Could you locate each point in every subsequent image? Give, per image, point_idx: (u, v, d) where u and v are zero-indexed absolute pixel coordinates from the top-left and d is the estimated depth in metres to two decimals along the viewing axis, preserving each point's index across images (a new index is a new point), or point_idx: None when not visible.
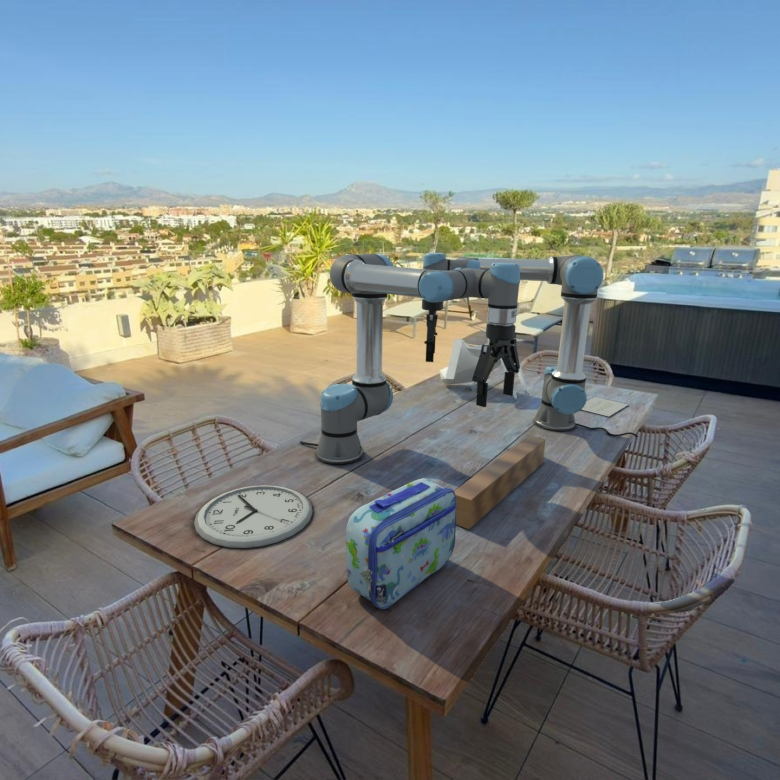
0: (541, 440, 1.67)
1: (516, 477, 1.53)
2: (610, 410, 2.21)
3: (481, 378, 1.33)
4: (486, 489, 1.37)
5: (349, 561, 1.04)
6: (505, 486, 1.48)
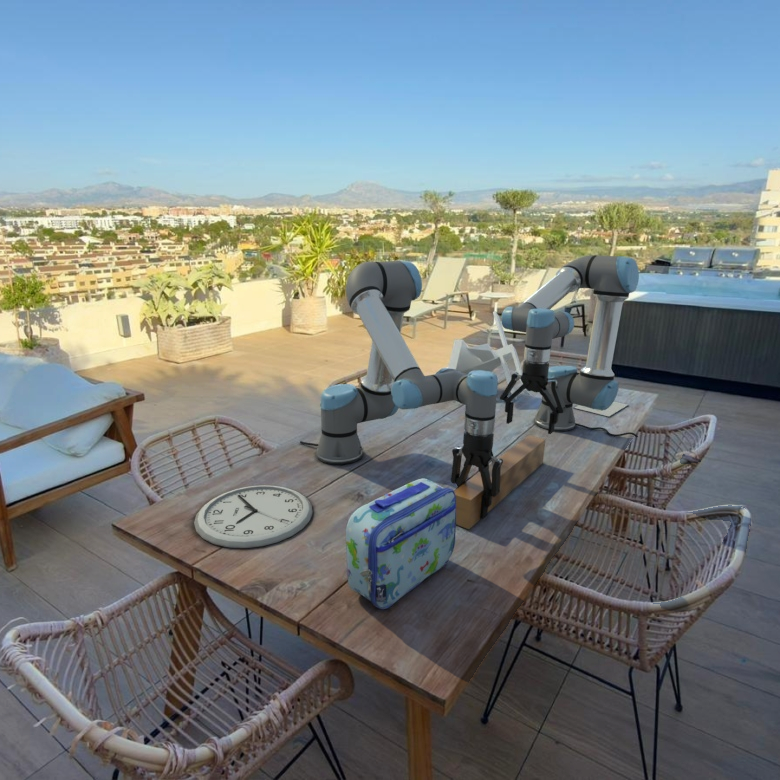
0: (541, 440, 1.67)
1: (516, 477, 1.53)
2: (610, 410, 2.21)
3: (452, 479, 1.40)
4: None
5: (349, 561, 1.04)
6: (505, 486, 1.48)
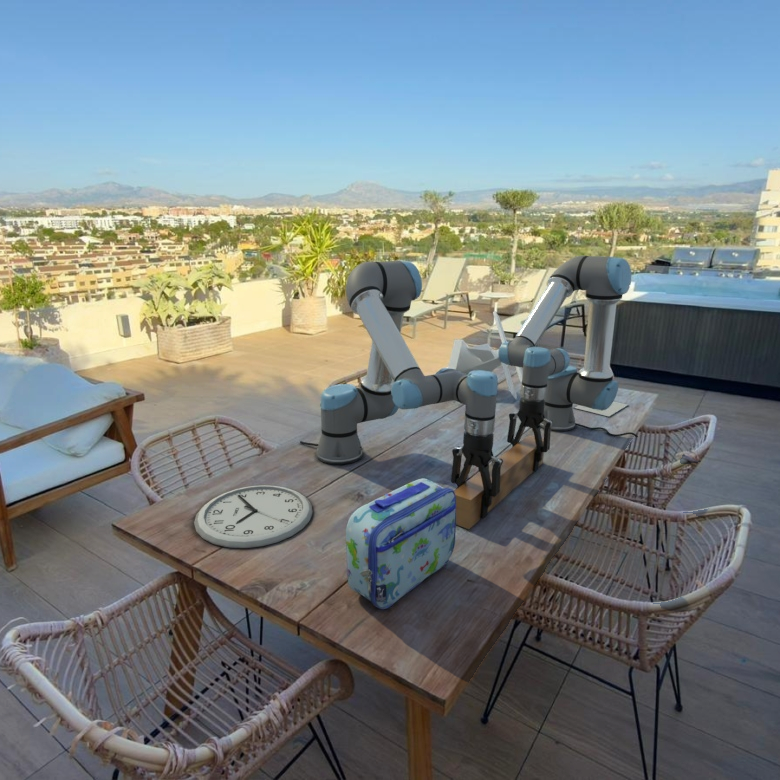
0: None
1: (516, 477, 1.53)
2: (610, 410, 2.21)
3: (452, 479, 1.40)
4: None
5: (349, 561, 1.04)
6: (505, 486, 1.48)
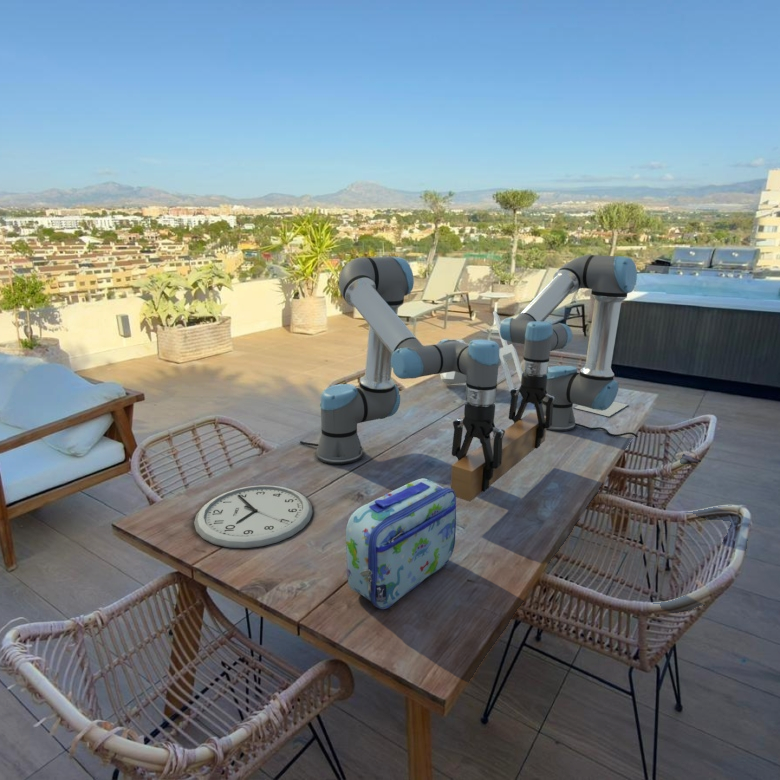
0: None
1: (518, 452, 1.51)
2: (610, 410, 2.21)
3: (453, 452, 1.37)
4: None
5: (349, 561, 1.04)
6: (507, 460, 1.45)
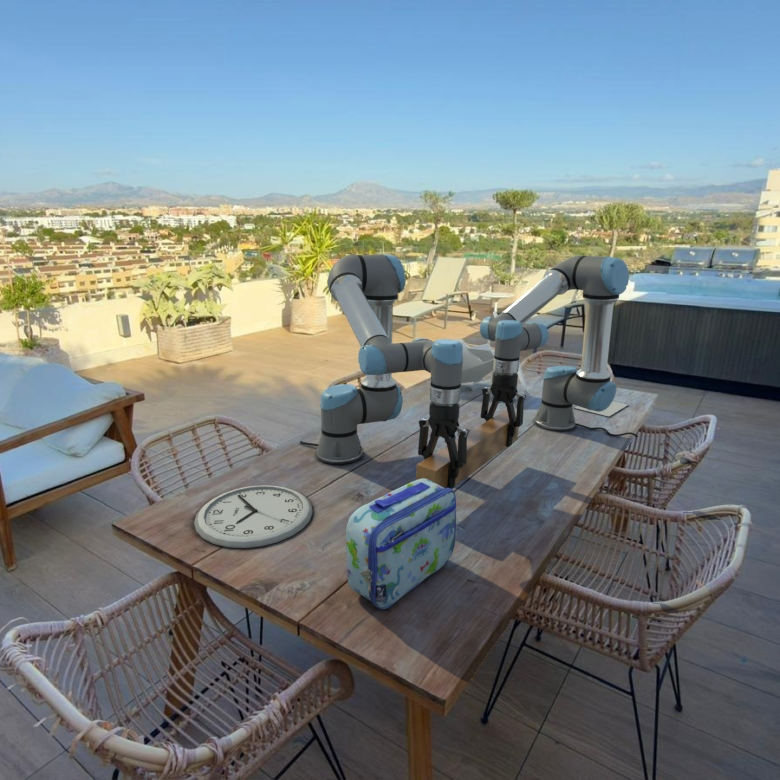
0: None
1: (487, 451, 1.51)
2: (610, 410, 2.21)
3: (419, 451, 1.38)
4: None
5: (349, 561, 1.04)
6: (475, 459, 1.46)
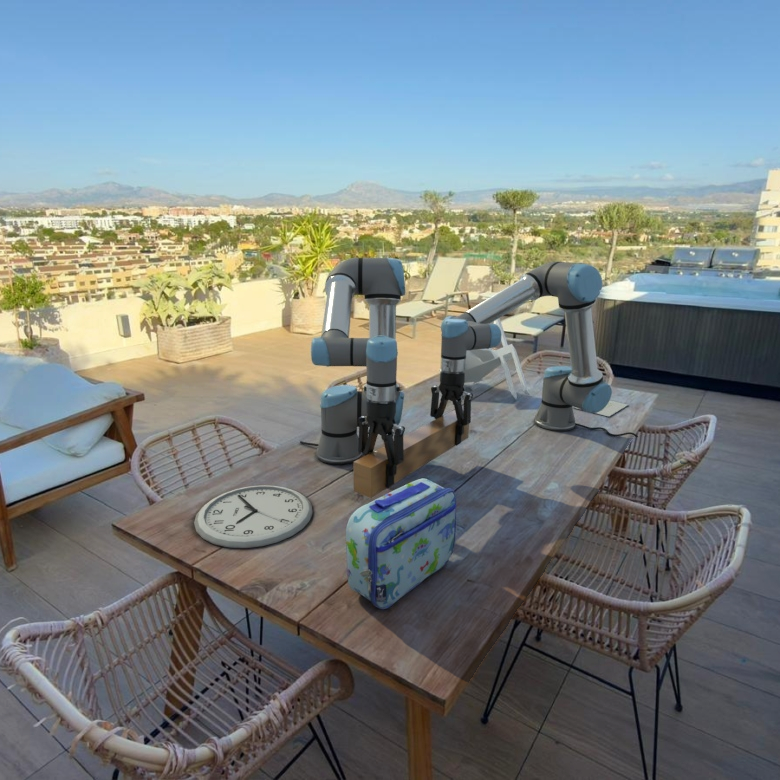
0: None
1: (432, 449, 1.52)
2: (610, 410, 2.21)
3: (359, 448, 1.38)
4: None
5: (349, 561, 1.04)
6: (418, 457, 1.46)
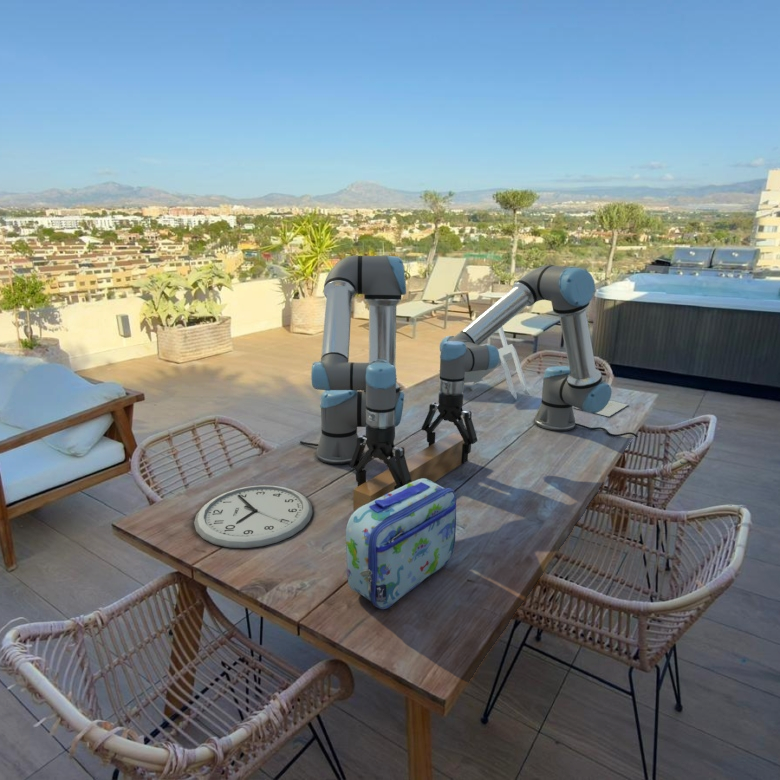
0: None
1: (431, 473, 1.54)
2: (610, 410, 2.21)
3: (351, 464, 1.41)
4: (390, 486, 1.38)
5: (349, 561, 1.04)
6: None
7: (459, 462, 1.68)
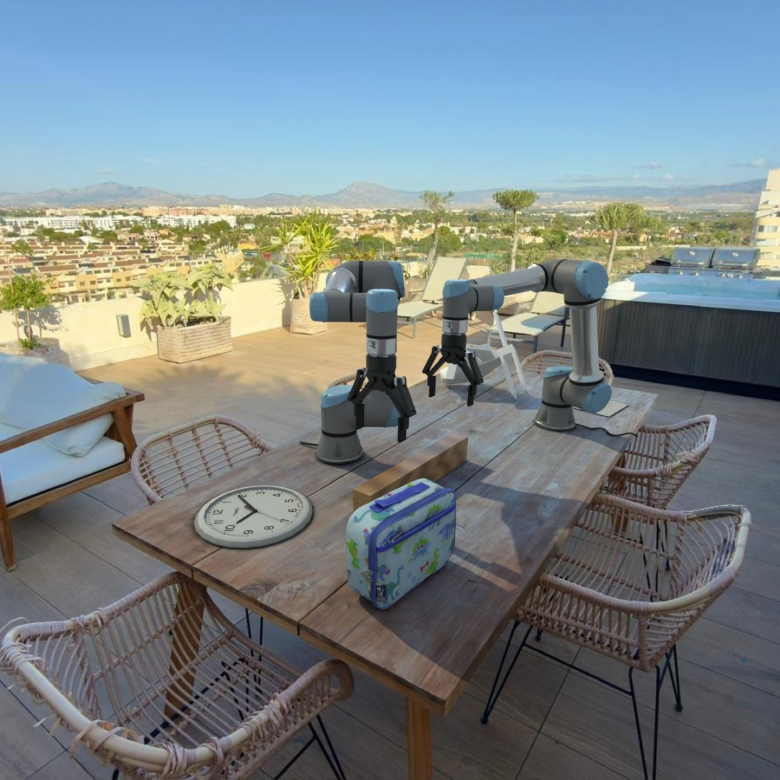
0: (463, 437, 1.68)
1: (431, 473, 1.54)
2: (610, 410, 2.21)
3: (349, 397, 1.36)
4: (390, 486, 1.38)
5: (349, 561, 1.04)
6: None
7: (459, 462, 1.68)
